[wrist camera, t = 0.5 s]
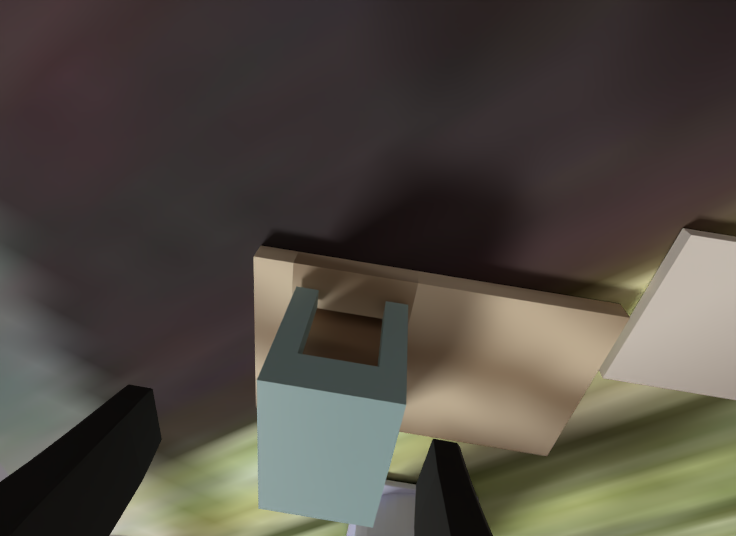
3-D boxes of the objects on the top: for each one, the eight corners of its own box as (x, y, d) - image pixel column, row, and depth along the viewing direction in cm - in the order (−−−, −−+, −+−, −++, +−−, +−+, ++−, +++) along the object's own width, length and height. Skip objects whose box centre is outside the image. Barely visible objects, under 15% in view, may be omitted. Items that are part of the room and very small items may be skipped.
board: (542, 440, 24) (546, 456, 23) (261, 393, 24) (256, 407, 24) (620, 304, 19) (629, 317, 18) (260, 245, 19) (253, 256, 18)
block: (379, 374, 23) (371, 458, 19) (306, 363, 23) (282, 443, 19) (391, 318, 21) (385, 397, 16) (311, 305, 21) (285, 381, 17)
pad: (756, 395, 21) (765, 404, 21) (598, 369, 21) (602, 378, 21) (882, 260, 17) (896, 268, 16) (682, 228, 17) (690, 234, 16)
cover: (381, 421, 23) (372, 527, 18) (290, 406, 23) (258, 508, 18) (408, 304, 18) (406, 404, 14) (296, 286, 19) (256, 380, 14)
